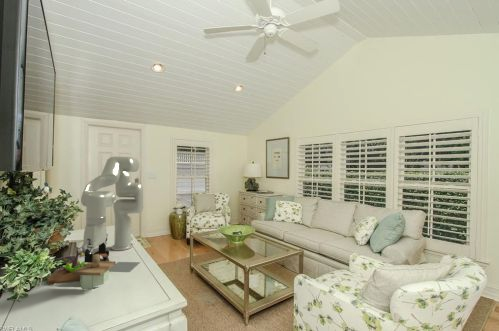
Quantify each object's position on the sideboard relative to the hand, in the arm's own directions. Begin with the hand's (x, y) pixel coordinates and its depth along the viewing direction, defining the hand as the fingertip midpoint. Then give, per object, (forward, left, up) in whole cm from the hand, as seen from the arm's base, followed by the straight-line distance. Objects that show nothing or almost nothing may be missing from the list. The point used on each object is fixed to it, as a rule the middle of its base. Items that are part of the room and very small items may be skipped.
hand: (95, 257), depth 111 cm
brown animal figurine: (-21, -11, -12) cm, 27 cm away
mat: (-15, +5, -12) cm, 20 cm away
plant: (-7, -14, -12) cm, 20 cm away
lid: (0, 0, -5) cm, 5 cm away
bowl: (+1, 0, -12) cm, 12 cm away
